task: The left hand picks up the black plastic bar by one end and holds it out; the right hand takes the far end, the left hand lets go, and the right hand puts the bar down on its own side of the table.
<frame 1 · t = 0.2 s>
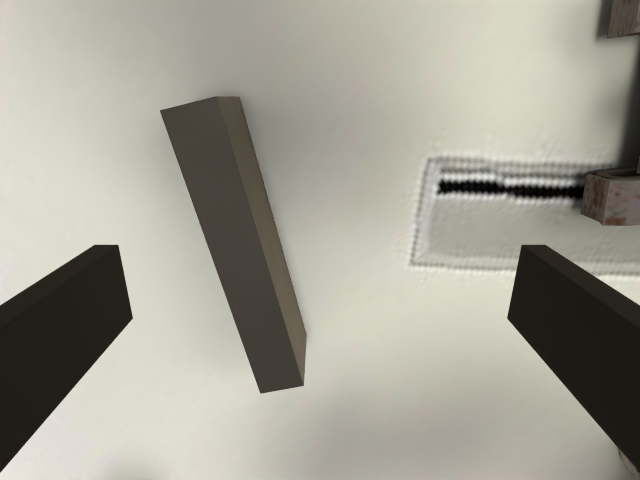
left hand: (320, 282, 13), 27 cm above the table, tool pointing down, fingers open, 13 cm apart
bar: (256, 234, 41), on the table
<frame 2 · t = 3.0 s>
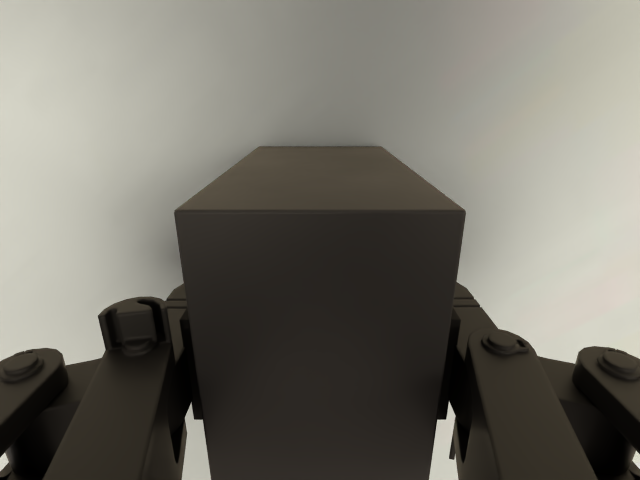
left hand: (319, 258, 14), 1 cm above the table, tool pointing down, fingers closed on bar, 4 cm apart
bar: (320, 435, 18), on the table, touching left hand
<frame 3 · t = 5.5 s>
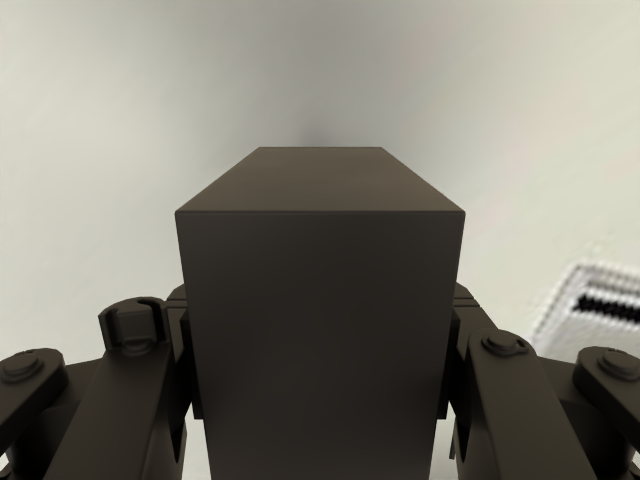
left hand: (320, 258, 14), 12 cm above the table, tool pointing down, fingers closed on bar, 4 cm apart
bar: (320, 435, 18), point 11 cm above the table, touching left hand
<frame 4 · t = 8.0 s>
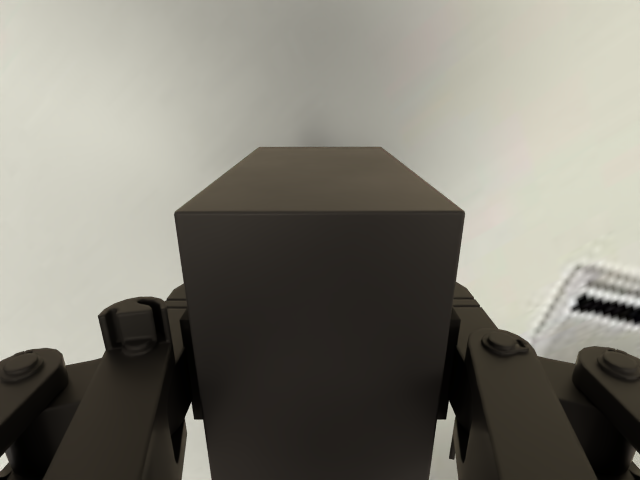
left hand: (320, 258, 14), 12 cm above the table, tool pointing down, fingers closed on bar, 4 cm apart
bar: (320, 435, 18), point 11 cm above the table, touching left hand, right hand
when the left hand's fingers open (12 cm above the table, at t = 8.5 s): bar stays where it is, held by the right hand.
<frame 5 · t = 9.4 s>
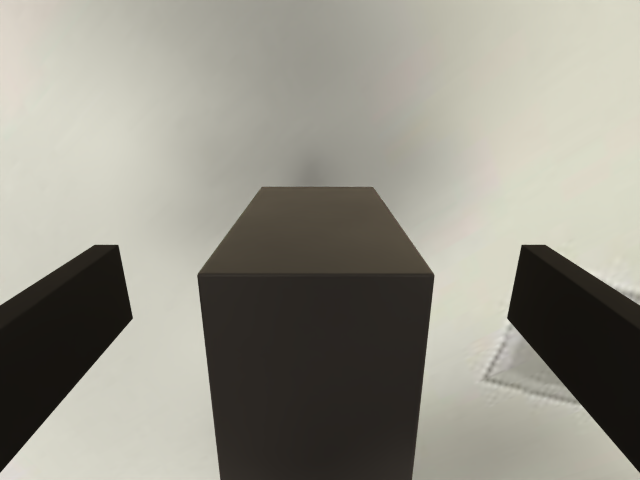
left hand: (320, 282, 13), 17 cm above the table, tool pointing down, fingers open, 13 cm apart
bar: (317, 450, 19), point 14 cm above the table, touching right hand
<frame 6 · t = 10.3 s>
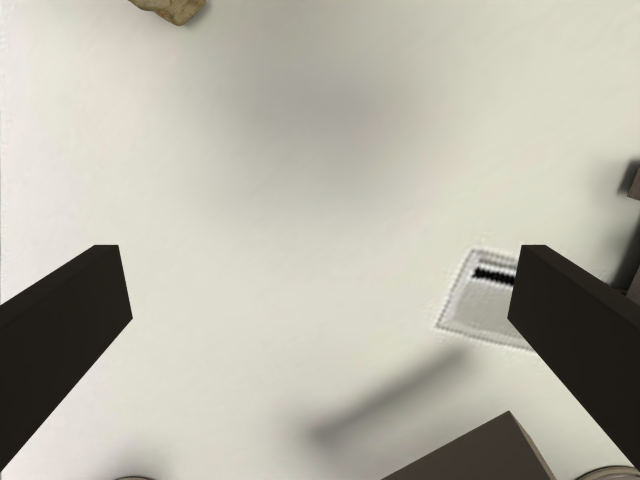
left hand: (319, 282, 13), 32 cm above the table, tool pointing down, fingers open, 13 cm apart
when the right hand's fingers open (2 cm above the table, at t = 13.0 s): bar drops 1 cm, on the table.
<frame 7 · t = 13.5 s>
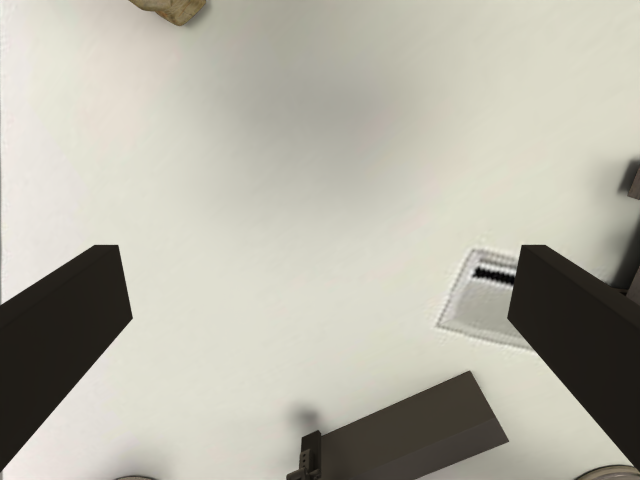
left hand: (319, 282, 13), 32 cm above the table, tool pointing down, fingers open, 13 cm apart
bar: (390, 419, 56), on the table
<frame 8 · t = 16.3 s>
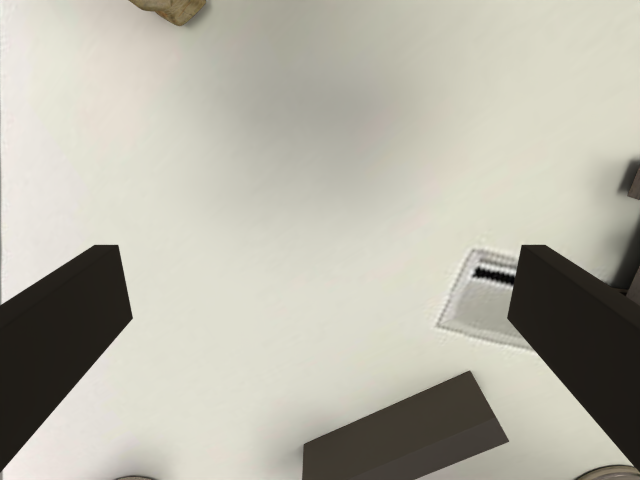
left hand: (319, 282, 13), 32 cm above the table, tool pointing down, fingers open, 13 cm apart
bar: (390, 419, 56), on the table
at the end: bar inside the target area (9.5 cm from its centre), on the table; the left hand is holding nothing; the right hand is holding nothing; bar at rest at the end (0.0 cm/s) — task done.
